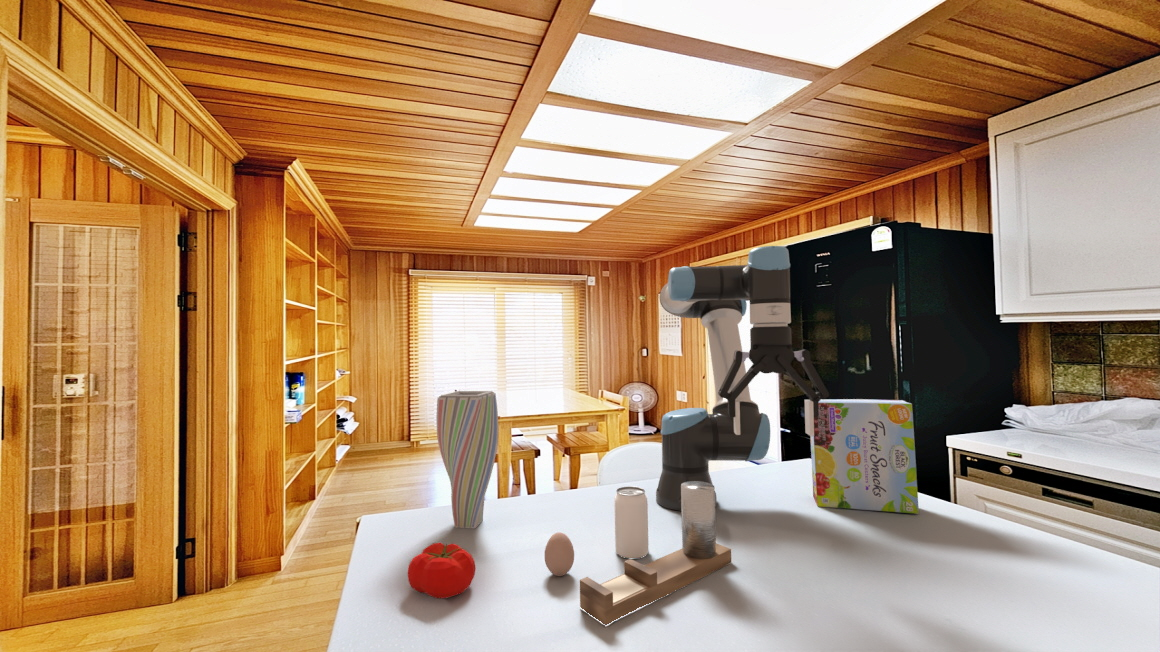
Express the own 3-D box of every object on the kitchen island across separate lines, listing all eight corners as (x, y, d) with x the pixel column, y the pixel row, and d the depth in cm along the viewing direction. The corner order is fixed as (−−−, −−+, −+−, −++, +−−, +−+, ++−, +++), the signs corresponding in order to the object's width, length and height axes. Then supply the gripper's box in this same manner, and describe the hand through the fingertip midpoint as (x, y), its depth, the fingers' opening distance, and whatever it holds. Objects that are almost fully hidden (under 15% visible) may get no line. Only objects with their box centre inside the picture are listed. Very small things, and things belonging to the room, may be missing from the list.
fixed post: (675, 551, 88) (674, 485, 88) (696, 542, 92) (694, 479, 92) (702, 562, 83) (700, 493, 84) (723, 552, 87) (721, 486, 87)
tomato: (442, 612, 74) (442, 569, 74) (397, 593, 80) (397, 554, 80) (486, 584, 82) (486, 546, 82) (442, 569, 88) (442, 533, 88)
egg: (576, 580, 83) (576, 537, 83) (546, 583, 82) (545, 540, 82) (572, 566, 88) (571, 526, 88) (543, 569, 87) (542, 528, 87)
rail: (580, 609, 74) (579, 579, 74) (704, 551, 93) (704, 528, 93) (605, 627, 69) (605, 595, 69) (731, 562, 88) (730, 538, 89)
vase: (506, 514, 115) (504, 389, 116) (485, 537, 102) (484, 396, 103) (454, 511, 118) (452, 389, 119) (427, 533, 104) (426, 396, 105)
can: (647, 561, 90) (646, 496, 90) (613, 558, 91) (612, 495, 91) (649, 546, 96) (648, 486, 96) (617, 544, 97) (616, 485, 98)
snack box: (908, 503, 118) (904, 399, 118) (920, 516, 109) (915, 403, 110) (811, 496, 125) (807, 397, 125) (815, 507, 116) (812, 401, 117)
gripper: (707, 326, 92) (710, 437, 92) (845, 324, 88) (848, 438, 88) (703, 327, 99) (705, 429, 99) (830, 324, 96) (833, 430, 95)
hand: (773, 434), depth 94 cm, fingers open, 13 cm apart
